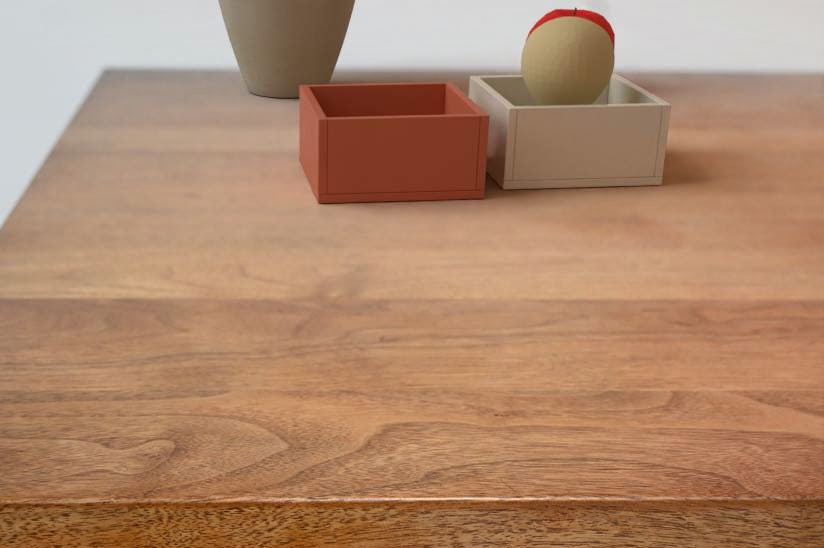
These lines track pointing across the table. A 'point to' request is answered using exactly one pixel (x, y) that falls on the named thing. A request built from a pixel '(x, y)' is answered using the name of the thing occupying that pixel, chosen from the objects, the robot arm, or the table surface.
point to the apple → (581, 14)
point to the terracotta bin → (392, 142)
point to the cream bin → (572, 136)
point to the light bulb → (567, 62)
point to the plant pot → (286, 42)
